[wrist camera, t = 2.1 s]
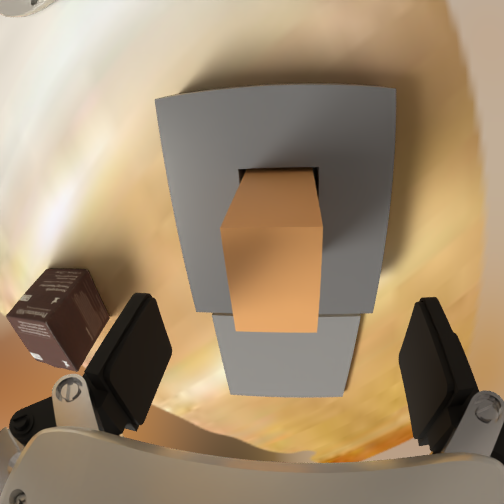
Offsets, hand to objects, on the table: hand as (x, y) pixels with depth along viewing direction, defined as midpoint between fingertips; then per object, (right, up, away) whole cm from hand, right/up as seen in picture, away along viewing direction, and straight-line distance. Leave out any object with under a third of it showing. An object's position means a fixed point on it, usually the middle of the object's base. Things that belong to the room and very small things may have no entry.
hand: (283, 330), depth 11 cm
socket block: (+1, +6, +9) cm, 11 cm away
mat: (+2, -7, +17) cm, 19 cm away
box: (-18, -1, +17) cm, 25 cm away
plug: (+1, +6, +9) cm, 11 cm away
